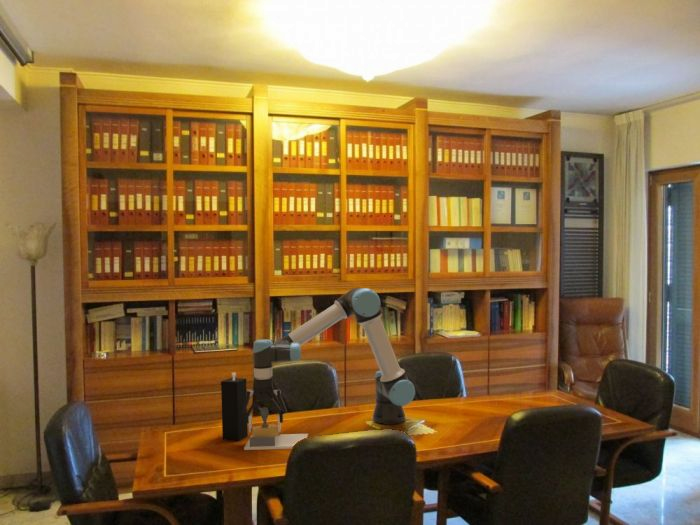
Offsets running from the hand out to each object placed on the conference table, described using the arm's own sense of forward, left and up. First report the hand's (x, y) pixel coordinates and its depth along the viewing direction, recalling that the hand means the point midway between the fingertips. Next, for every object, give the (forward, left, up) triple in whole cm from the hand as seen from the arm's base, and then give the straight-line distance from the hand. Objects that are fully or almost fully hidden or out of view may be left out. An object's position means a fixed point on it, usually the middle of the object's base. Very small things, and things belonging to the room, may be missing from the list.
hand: (264, 430), depth 225 cm
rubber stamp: (0, 0, -2) cm, 2 cm away
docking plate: (-5, 0, -5) cm, 7 cm away
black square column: (+14, -8, -5) cm, 17 cm away
